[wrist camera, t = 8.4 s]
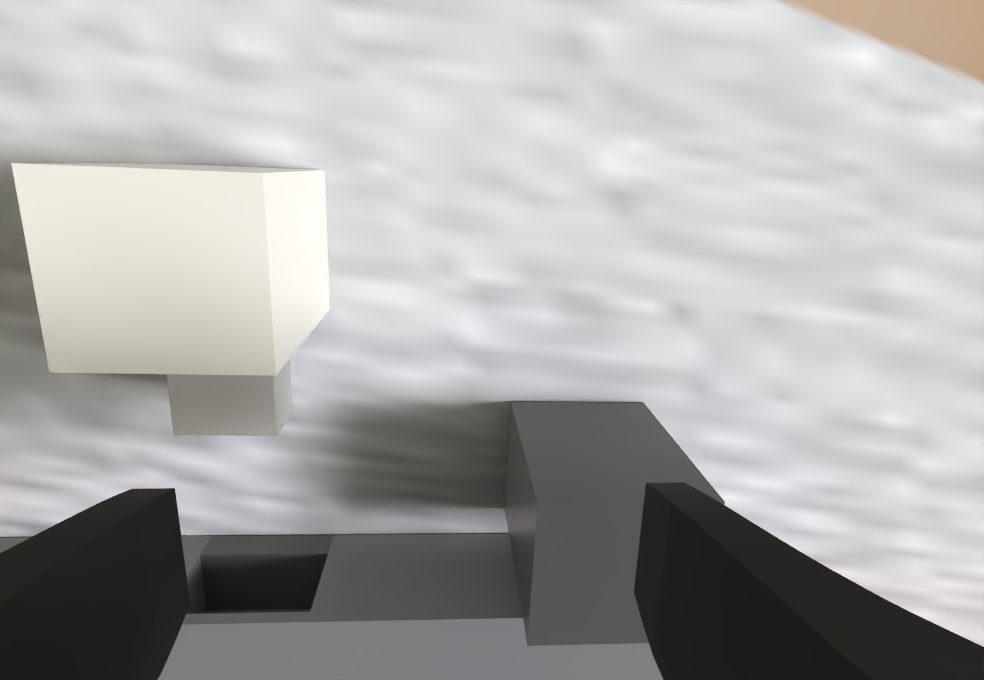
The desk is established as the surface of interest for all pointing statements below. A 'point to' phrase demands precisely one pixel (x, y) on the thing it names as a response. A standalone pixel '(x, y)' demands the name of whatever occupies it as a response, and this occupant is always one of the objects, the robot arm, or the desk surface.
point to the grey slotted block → (452, 574)
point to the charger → (180, 280)
